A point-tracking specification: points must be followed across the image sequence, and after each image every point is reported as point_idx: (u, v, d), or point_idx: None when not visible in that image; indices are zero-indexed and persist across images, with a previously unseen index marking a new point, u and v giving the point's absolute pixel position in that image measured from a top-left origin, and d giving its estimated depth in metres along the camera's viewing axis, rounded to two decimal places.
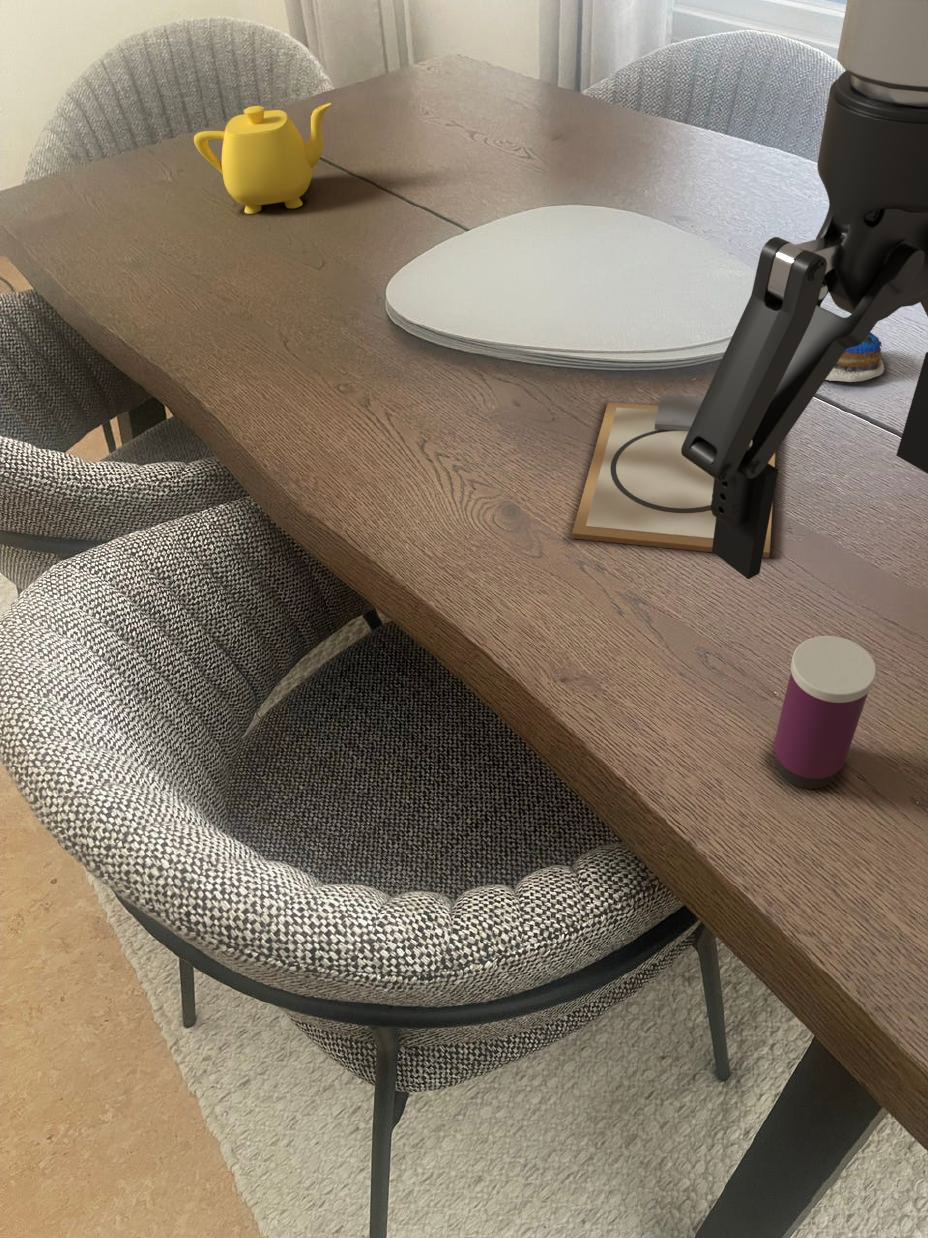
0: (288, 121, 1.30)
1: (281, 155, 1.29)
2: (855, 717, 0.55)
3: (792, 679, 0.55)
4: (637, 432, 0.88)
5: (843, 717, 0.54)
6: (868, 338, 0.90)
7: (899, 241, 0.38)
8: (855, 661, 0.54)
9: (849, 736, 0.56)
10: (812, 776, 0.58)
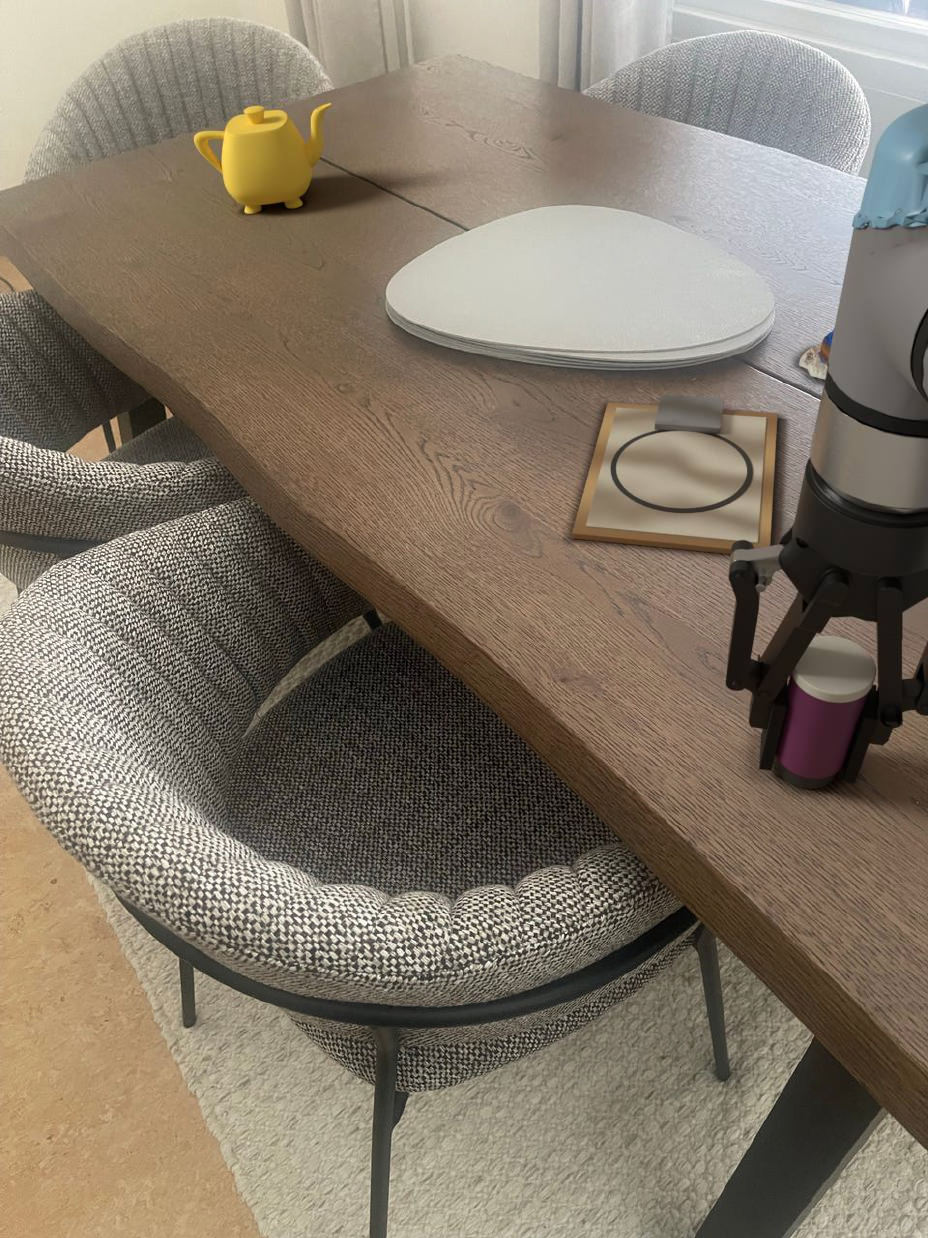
0: (288, 121, 1.30)
1: (281, 155, 1.29)
2: (855, 717, 0.55)
3: (792, 679, 0.55)
4: (637, 432, 0.88)
5: (843, 717, 0.54)
6: None
7: (828, 570, 0.48)
8: (855, 661, 0.54)
9: (849, 736, 0.56)
10: (812, 776, 0.58)
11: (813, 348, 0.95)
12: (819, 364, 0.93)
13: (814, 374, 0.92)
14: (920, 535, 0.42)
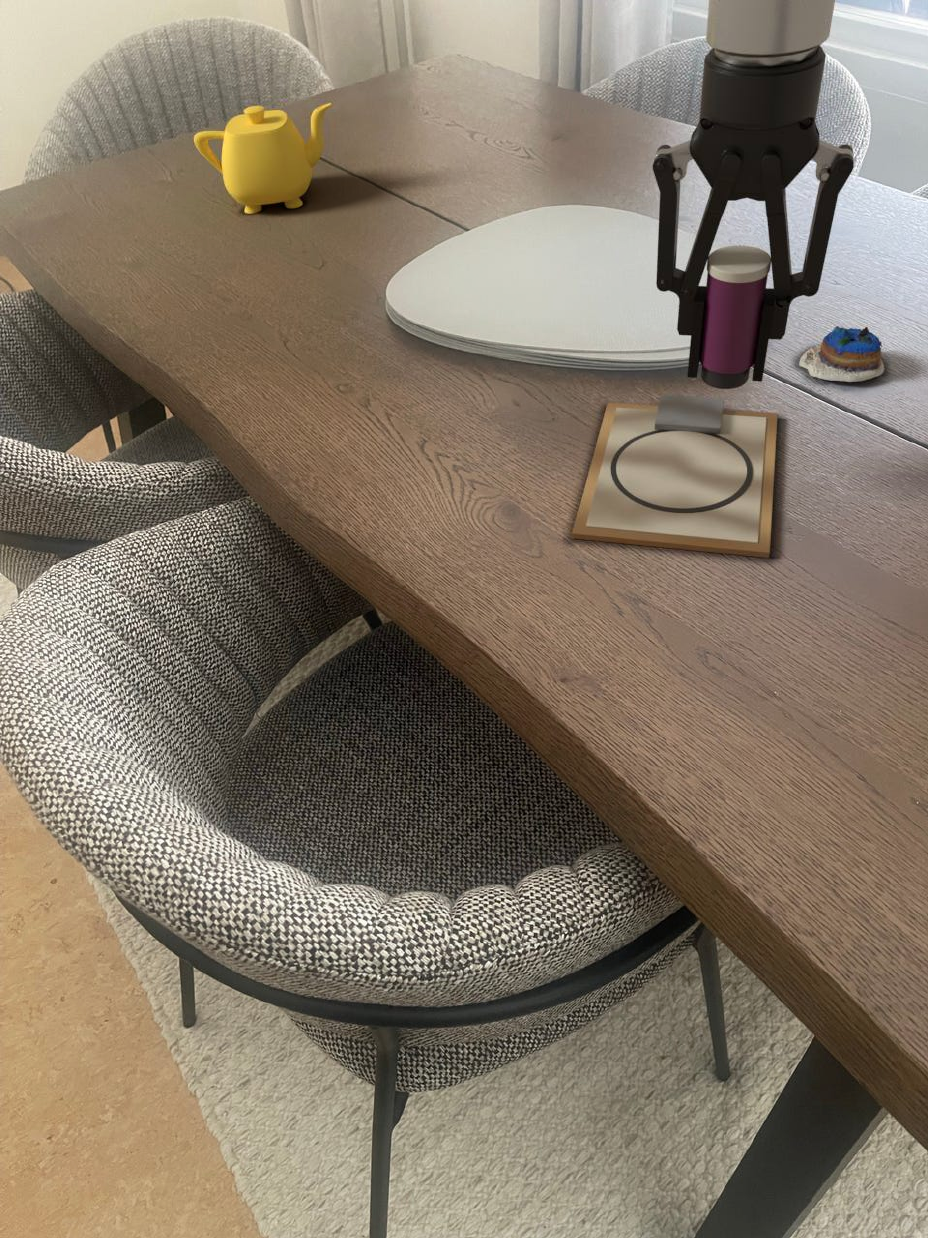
0: (288, 121, 1.30)
1: (281, 155, 1.29)
2: (756, 304, 0.70)
3: (708, 276, 0.71)
4: (637, 432, 0.88)
5: (746, 300, 0.70)
6: (868, 338, 0.90)
7: (725, 149, 0.63)
8: (755, 256, 0.70)
9: (753, 327, 0.72)
10: (727, 371, 0.74)
11: (813, 348, 0.95)
12: (819, 364, 0.93)
13: (814, 373, 0.92)
14: (783, 83, 0.58)
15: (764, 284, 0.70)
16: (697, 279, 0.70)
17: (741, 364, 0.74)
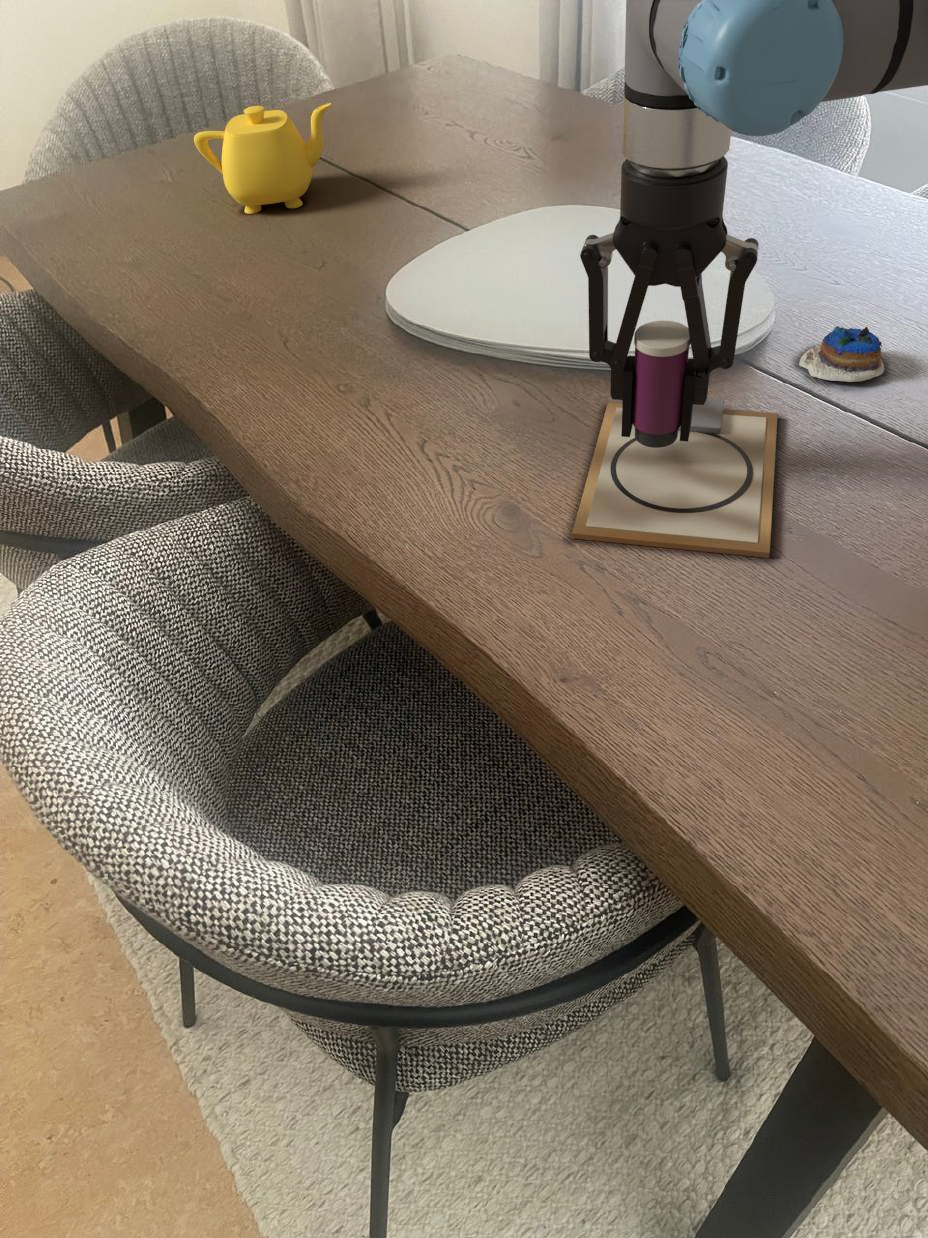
0: (288, 121, 1.30)
1: (281, 155, 1.29)
2: (679, 374, 0.77)
3: (635, 348, 0.78)
4: None
5: (669, 371, 0.77)
6: (868, 338, 0.90)
7: (643, 243, 0.71)
8: (677, 332, 0.77)
9: (678, 394, 0.79)
10: (656, 432, 0.81)
11: (813, 348, 0.95)
12: (819, 364, 0.93)
13: (814, 373, 0.92)
14: (688, 191, 0.65)
15: (685, 357, 0.77)
16: (625, 352, 0.77)
17: (668, 426, 0.81)
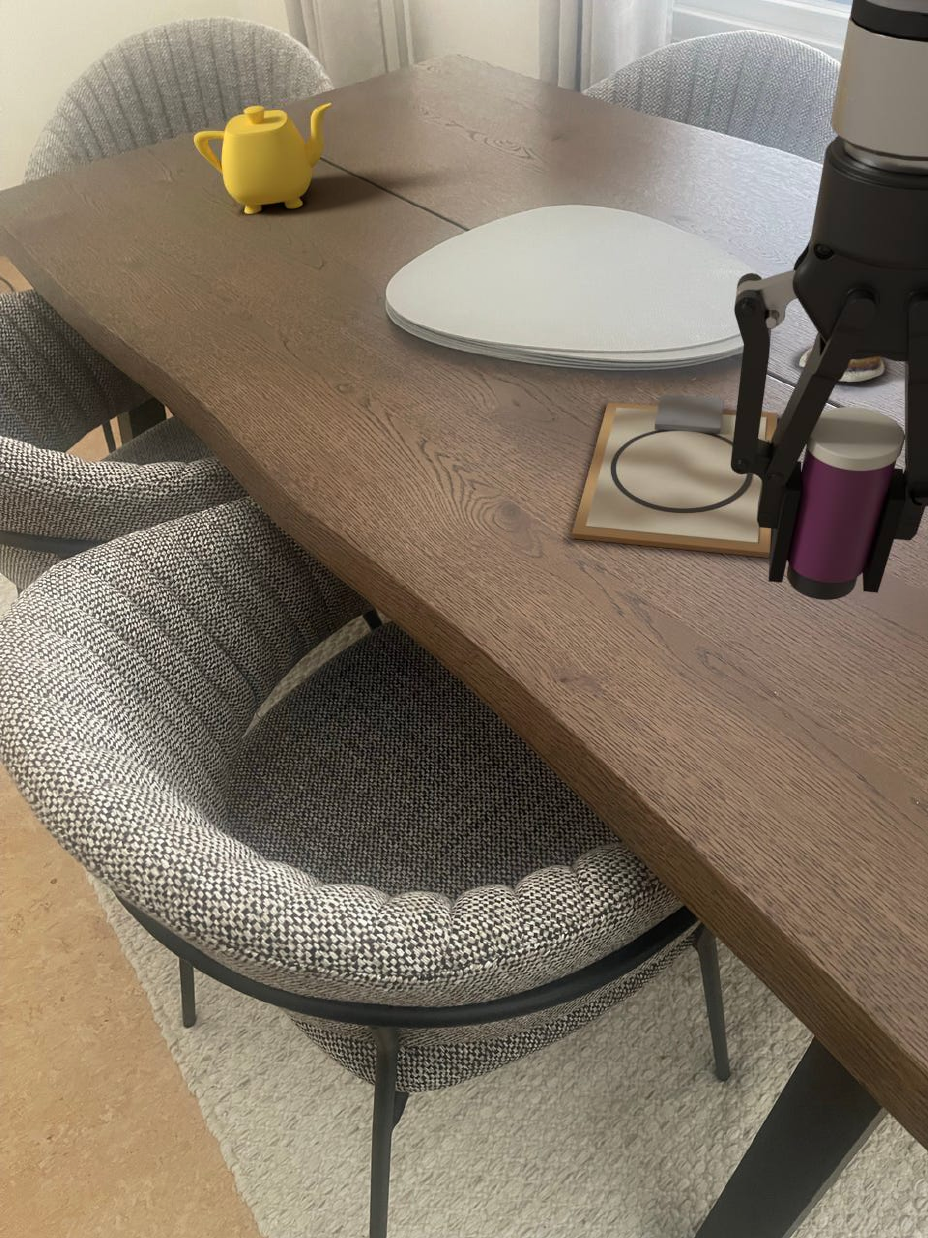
0: (288, 121, 1.30)
1: (281, 155, 1.29)
2: (880, 496, 0.48)
3: (807, 453, 0.48)
4: (637, 432, 0.88)
5: (866, 492, 0.47)
6: None
7: (851, 289, 0.41)
8: (880, 428, 0.47)
9: (873, 524, 0.49)
10: (830, 579, 0.51)
11: None
12: None
13: None
14: None
15: (893, 469, 0.47)
16: (792, 461, 0.48)
17: (850, 571, 0.51)
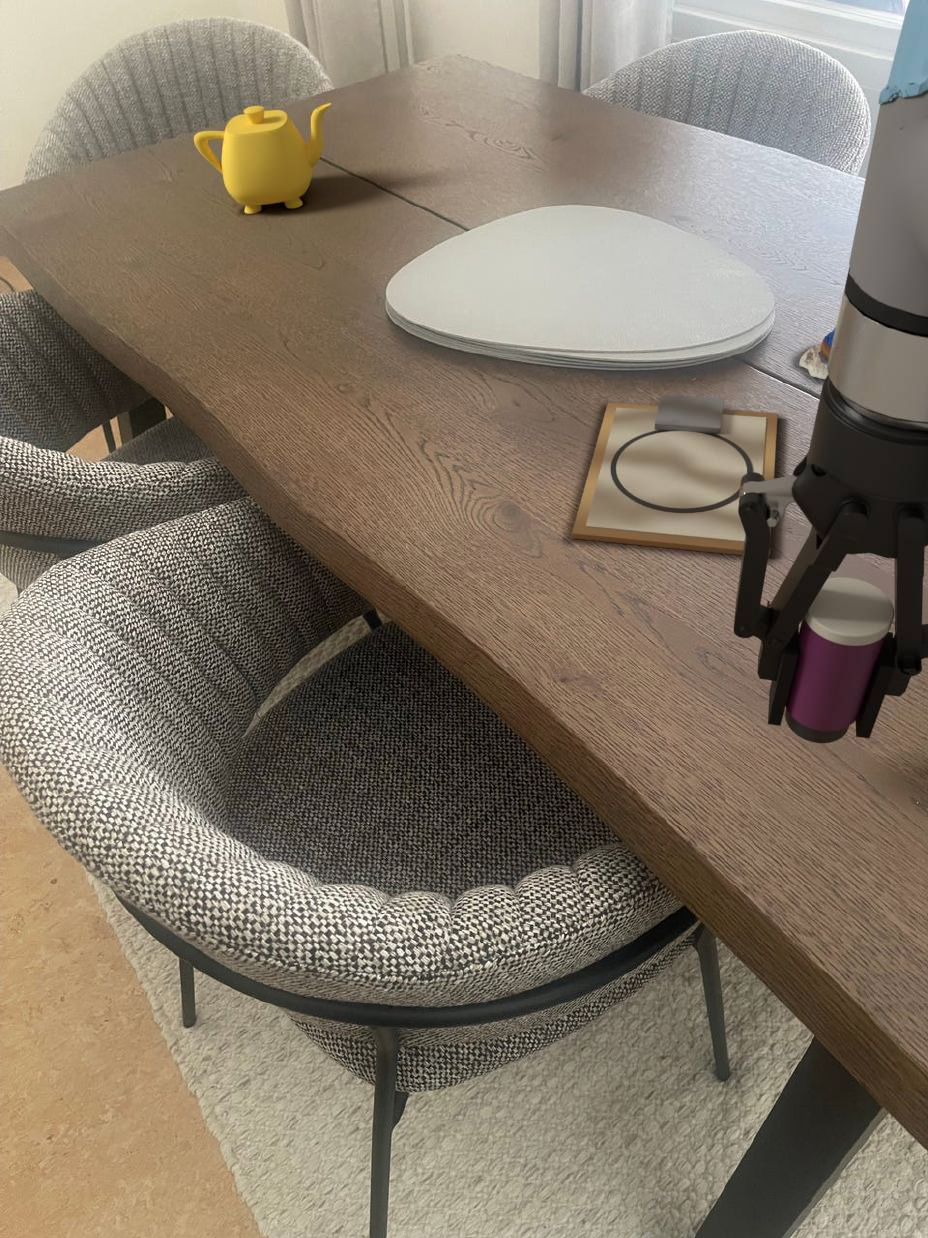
0: (288, 121, 1.30)
1: (281, 155, 1.29)
2: (871, 663, 0.52)
3: (804, 623, 0.52)
4: (637, 432, 0.88)
5: (858, 662, 0.51)
6: None
7: (845, 501, 0.45)
8: (872, 603, 0.51)
9: (864, 684, 0.53)
10: (824, 729, 0.55)
11: (813, 348, 0.95)
12: (819, 364, 0.93)
13: (814, 373, 0.92)
14: None
15: (883, 640, 0.51)
16: (791, 630, 0.52)
17: (844, 722, 0.55)
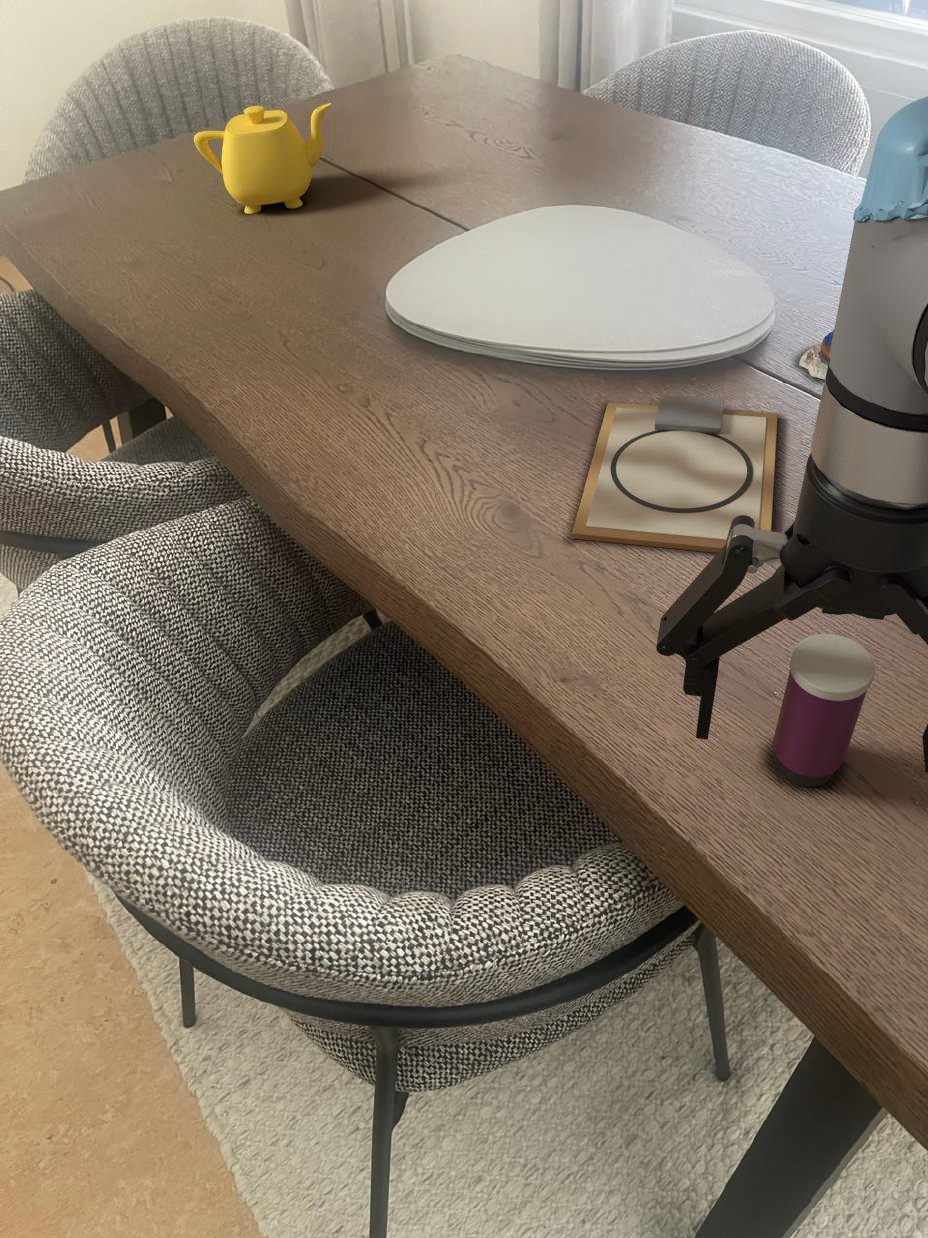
0: (288, 121, 1.30)
1: (281, 155, 1.29)
2: (854, 715, 0.55)
3: (791, 677, 0.55)
4: (637, 432, 0.88)
5: (842, 715, 0.54)
6: None
7: (836, 565, 0.48)
8: (854, 659, 0.54)
9: (848, 734, 0.56)
10: (811, 774, 0.59)
11: (813, 348, 0.95)
12: (819, 364, 0.93)
13: (814, 373, 0.92)
14: (922, 531, 0.42)
15: (865, 694, 0.54)
16: (716, 655, 0.54)
17: (829, 768, 0.58)
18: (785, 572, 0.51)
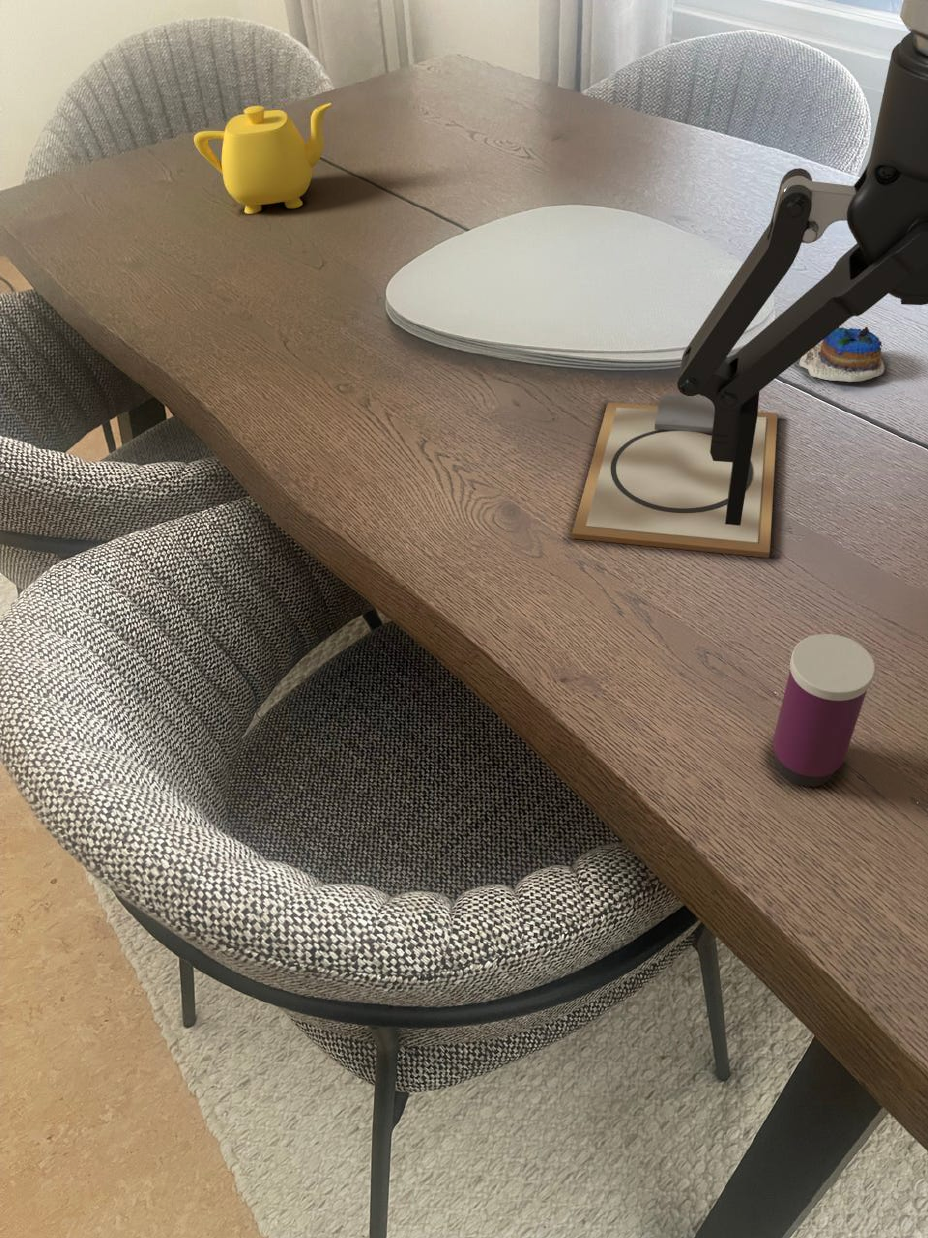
0: (288, 121, 1.30)
1: (281, 155, 1.29)
2: (854, 715, 0.55)
3: (791, 677, 0.55)
4: (637, 432, 0.88)
5: (842, 715, 0.54)
6: (868, 338, 0.90)
7: (927, 216, 0.35)
8: (854, 659, 0.54)
9: (848, 734, 0.56)
10: (811, 774, 0.59)
11: (813, 348, 0.95)
12: (819, 364, 0.93)
13: (814, 373, 0.92)
14: None
15: (865, 694, 0.54)
16: (756, 387, 0.42)
17: (829, 768, 0.58)
18: (850, 259, 0.39)
